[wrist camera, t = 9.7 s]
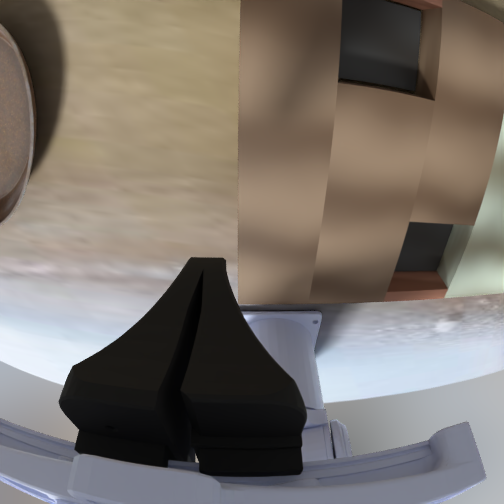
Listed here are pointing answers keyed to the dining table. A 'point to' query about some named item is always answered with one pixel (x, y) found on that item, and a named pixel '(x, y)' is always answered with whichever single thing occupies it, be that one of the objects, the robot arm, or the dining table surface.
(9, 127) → the plant saucer
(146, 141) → the dining table surface
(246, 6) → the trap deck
